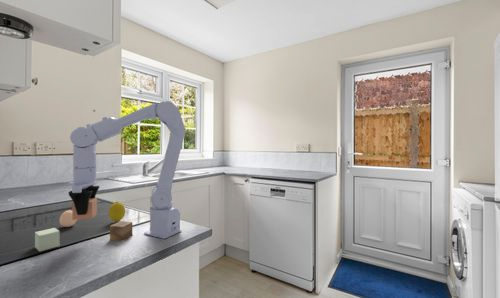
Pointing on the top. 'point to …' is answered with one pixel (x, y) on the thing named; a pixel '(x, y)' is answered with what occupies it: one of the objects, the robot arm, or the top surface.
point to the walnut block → (121, 231)
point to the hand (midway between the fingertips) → (85, 211)
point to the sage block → (47, 239)
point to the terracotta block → (90, 212)
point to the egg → (67, 219)
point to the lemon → (116, 211)
